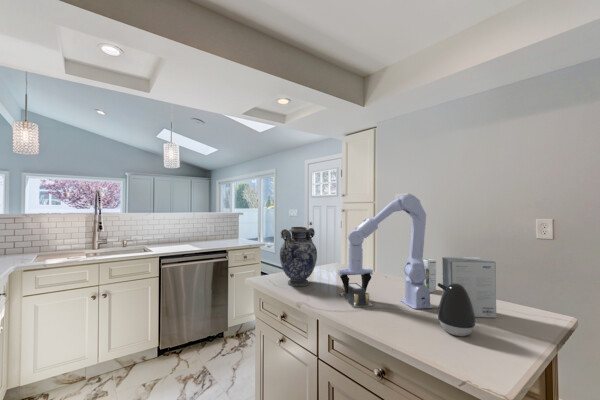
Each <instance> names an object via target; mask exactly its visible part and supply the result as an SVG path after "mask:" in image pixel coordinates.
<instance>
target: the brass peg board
mask: <svg viewBox="0 0 600 400" xmlns="http://www.w3.org/2000/svg"><path fill="white" fill-rule="evenodd" d="M339 296H341V297H342V298H343V299H344V300H345V301H346V302H347V303H348V304H349V305H350V306H351V307H352V308H353V309H359V308H370V307H371V308H372V307H374V305H373V304H372V303H371V302H370V293H368V292H365V302H358V294H354V303H353V302H352V301H351V300H350V299H349V298H348V297H347V296H346V295H345V289H344V285H343V284H342V292H339Z"/></svg>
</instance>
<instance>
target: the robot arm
mask: <svg viewBox="0 0 600 400" xmlns="http://www.w3.org/2000/svg"><path fill="white" fill-rule="evenodd" d="M401 211H404V212H405V213H407V215H409V216H410V218H411V226H410V242H409V254H408V257H407V259H406V264H405V266H404V268H403V272H404V274H405V276H406V277H405V279H404V298H401V299H400V302H402V303H404V304H405V305H407V306H408V307H410V308H412V309H414V310H420V309H431V308H433V306H432V305H431V292H430V290H429V288H428V287H426V286H425V283H424V280H425V279H426V273H425V270H424V262H423V258H424V245H425V235H426V223H427V213H426V211H425V208H424V207H423V206H422V204H421V200H420V199H419V198H418V197H417V196H416V195H414V194H411V193H408V194H401V195H400V196H398V197H397V198H395V199H393V200H392V201H391V202H389V203H388V204H387V205H386V206H385V207H383V209H382V210H381V211H379V212H378V213H377V214H376V215H375V216H374V217H368V218H364V219H363V220H362V221H363V222H361V223H360V225H358V226H355V227H354V228H353V229H354V230H351V232H349V234H348V236H347V238H348V241H349V243H348V268H347V269H338V270H337V275H338V276H339V278H340V280H341V281H342V286H343V285H344V289H345V293H346V294H348V292H349V289H348V285H349V283H350V278H349V276H361V287H363V288H364V289H365V293H367V292H366V291H367V288H368V285H369V283H370V281H371V280H372V276H373V274H374V273H373V269H371V268H363V262H364V261H363V259H364V257H363V256H364V255H363V243H364V240H365V239H367V238H369V236H371V235H372V234H373V233H374V232H376V231H377V230H378V228H379V227H378V226H379V224H380V223H381V222H382V221H384V220H385V219H386V218H388V217H389V216H391V215H392V214H393V213H396V212H401Z"/></svg>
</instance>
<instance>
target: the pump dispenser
mask: <svg viewBox="0 0 600 400" xmlns="http://www.w3.org/2000/svg"><path fill="white" fill-rule="evenodd" d="M437 286H438V287H439V288H440V289H442V291H443V290H445V291H444V293H443V292H442V295H441V297H440V301H439V305H438V311H437V318H438V320H439V324H440V326H441V328H443V330H444V331H446V332H447V333H448V334H450V335H452V336H457V337H465V336H469V335H470V334H471V333H472V332H473V331H474V328H475V327H476V317H475V314H474V309H473V305H472V302H471V300H470V297H469V295H468V293H467V291H466V290H465V288H464V287H463V286H462V285H460V284H457V283H453V284H450V285H449V286H444V285H443V283H440V282H438V283H437Z"/></svg>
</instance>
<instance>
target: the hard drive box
mask: <svg viewBox="0 0 600 400" xmlns="http://www.w3.org/2000/svg"><path fill="white" fill-rule="evenodd" d="M441 263H442V264H441V265H442V285H444V286H449V285H450V284H453V283H457V284H460V285H462V286H463V287H464V288H465V290H466V291H467V293H468V295H469V297H470V300H471V302H472V305H473V309H474V314H475V318H486V319H487V318H491V319H492V318H497V277H496V276H497V274H496V270H497V268H496V266H497V265H496V261H494V260H492V259H488V258H485V257H461V256H460V257H458V256H457V257H451V256H449V257H447V256H445V257H442V262H441ZM444 291H445V290H443V289H442V294H443V293H444Z"/></svg>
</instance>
